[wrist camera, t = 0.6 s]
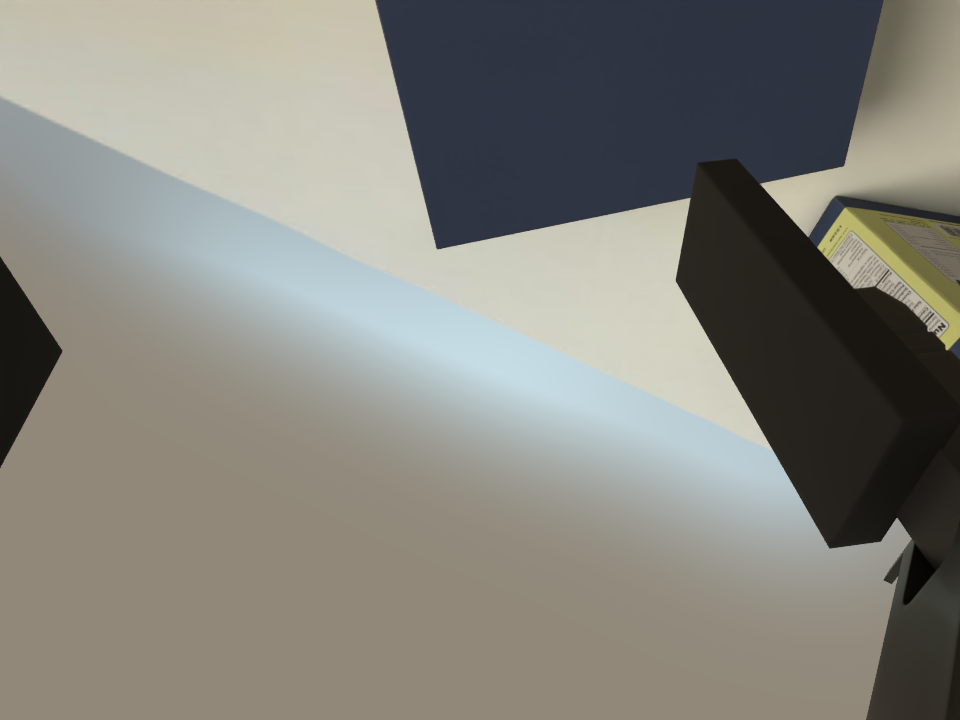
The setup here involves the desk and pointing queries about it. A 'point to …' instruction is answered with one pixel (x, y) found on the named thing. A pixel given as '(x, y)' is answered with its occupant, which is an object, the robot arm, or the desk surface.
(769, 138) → the encyclopedia
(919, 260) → the protein box
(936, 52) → the desk surface
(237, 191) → the desk surface
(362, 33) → the desk surface
